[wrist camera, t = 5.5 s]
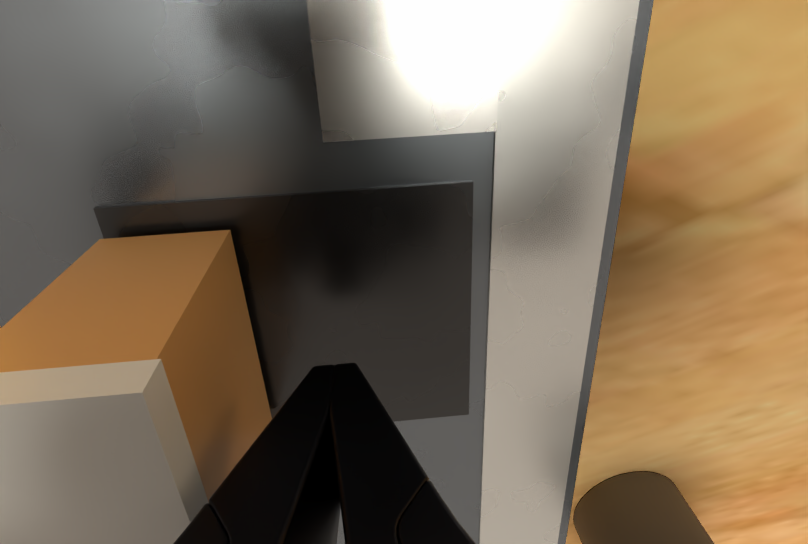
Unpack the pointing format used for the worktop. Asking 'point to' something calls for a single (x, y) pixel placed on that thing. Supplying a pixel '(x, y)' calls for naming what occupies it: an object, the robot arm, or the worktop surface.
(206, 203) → the breaker panel
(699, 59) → the worktop surface
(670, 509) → the post
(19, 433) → the block
